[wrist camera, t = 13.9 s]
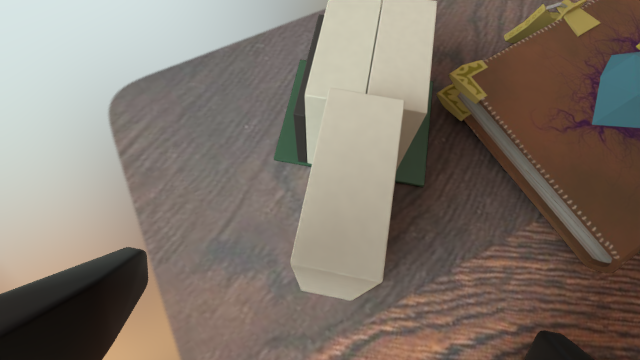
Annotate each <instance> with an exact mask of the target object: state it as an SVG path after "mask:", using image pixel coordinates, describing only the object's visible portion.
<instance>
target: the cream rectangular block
mask: <svg viewBox="0 0 640 360" xmlns="http://www.w3.org/2000/svg"><path fill="white" fill-rule="evenodd" d="M404 103H405V101H404V100H401V99H395V98H389V97H383V96H377V95H372V94H366V93H360V92H354V91H348V90H342V89H336V88H329V91H328V96H327V100H326V105H325V109H324V113H323V118H322V122H321V127H320V131H319V136H318V140H317V145H316V149H315V154H314V158H313V163H312V167H311V172H310V176H309V180H308V185H307V189H306V194H305V198H304V203H303V207H302V212H301V216H300V221H299V225H298V230H297V234H296V239H295V243H294V248H293V252H292V256H291V261H290V264H291V266H292V269H293V271H294V274H295V276H296V278H297V281H298V283H299V286H300V288H301V290H302V291H306V292H311V293H316V294H321V295H325V296H330V297H335V298H340V299H345V300H350V301H352V300H353V299H355V298H357V297H358V296H360V295H362V294H363V293H365V292H367V291H368V290H370V289H371V288H373V287H375V286H376V285H378V284H380V283H381V282H382V281H383V274H384V266H385V257H386V249H387V241H388V233H389V225H390V217H391V209H392V201H393V193H394V185H395V176H396V168H397V160H398V152H399V144H400V136H401V128H402V120H403V112H404Z"/></svg>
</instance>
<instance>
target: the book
mask: <svg viewBox="0 0 640 360" xmlns="http://www.w3.org/2000/svg"><path fill="white" fill-rule="evenodd" d="M586 1H587V0H580V1H579V2H577V3H575V4H574V3H572V2H571V1H569V0H564V1H562V2H559V3H556V4H553V5H550V6H547V7H545V5H544V4H542V5H541V6H540V7H539V8H538V9H537V10H536V11H535V12H534V13H533V14H532V15H531V16H530V17H529V18H528V19H526V20H525V21H524V22H523V23H521V24H520V25H518V26H517V27H515V28H514V29H513V30H511V31H510V32H508V33H507V34H505V35H504V38H505V41H507V42H510V43H514V44H513V45H512V46H510V47H508V48H506V49H504V50H503V51H501V52H499V53H497V54H495V55H494V56H492V57H490V58H488V59H486V60H485V61H482V60H479V61H475V62H472V63H468V64H465V65H462V66H460V67H459V68H457V69H456V70H454V71H453V72H451V73H450V74H449V77H450V79H451V81H452V82H453V84H451V85H448V86H447V87H445V88H444V89H442V90H441V91H439V92H438V93H437V94H436V95H437V97H438V98H439V100H440V102H441V104H442V105H443V107H445V108H446V109H447V110H448V111H449V112H451V113H452V114H453V115H454V116H455V117H457V118H458V119H459V120H460V121H462V120H464V121H465V122H466V123H467V124H468V126H469V127H470V128H471V129H472V130H473V132H474V133H475V134H476V135H477V136H478V138H479V139H480V140H481V141H482V142H483V144H484V145H485V146H486V147H487V148H488V150H489V151H490V152H491V153H492V154H493V156H494V157H495V158H496V159H497V160H498V162H499V163H500V164H501V165H502V167H503V168H504V169H505V170H506V171H507V173H508V174H509V175H510V176H511V177H512V179H513V180H514V181H515V182H516V183H517V185H518V186H519V187H520V188H521V189H522V191H523V192H524V193H525V194H526V195H527V197H528V198H529V199H530V200H531V201H532V203H533V204H534V205H535V206H536V207H537V209H538V210H539V211H540V212H541V213H542V215H543V216H544V217H545V218H546V219H547V221H548V222H549V223H550V224H551V225H552V227H553V228H554V229H555V230H556V231H557V233H558V234H559V235H560V236H561V237H562V239H563V240H564V241H565V242H566V243H567V245H568V246H569V247H570V248H571V249H572V251H573V252H574V253H575V254H576V255H577V257H578V258H579V259H580V260H581V261H582V263H583V264H584V265H585V266H587V267H590V268H592V269H594V270H597V271H601V272H605V273H612V272H615V271H616V270H617V269H618V268H620V267H621V266H622V265H623V264H625V263H626V262H627V261H628V260H630V259H631V258H632V257H633V256H635V255H636V254H637V253H638V252H639V253H640V0H593V1H591V2H589V3H588V4H586V5H584V6H582V5H583V4H584V3H585V2H586ZM581 6H582V7H581ZM555 7H556V8H557V10H558V11H559V12H549V11H548V10H549V9H552V8H555Z"/></svg>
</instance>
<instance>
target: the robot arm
mask: <svg viewBox="0 0 640 360" xmlns="http://www.w3.org/2000/svg"><path fill="white" fill-rule="evenodd" d="M147 283H148V268H147V255H146V252H145V251H144V250H141V249H136V248H131V247H126V248H123V249H120V250H118V251H115V252H112V253H110V254H107V255H105V256H102V257H99V258H96V259H93V260H91V261H88V262H85V263H83V264H80V265H78V266H75V267H72V268H69V269H67V270H64V271H61V272H58V273H56V274H53V275H51V276H48V277H45V278H43V279H40V280H37V281H34V282H32V283H29V284H26V285H23V286H21V287H18V288H15V289H13V290H10V291H8V292H5V293H2V294H0V360H102V359H103V357H104V356H105V354H106V353H107V352H108V350H109V349H110V347H111V346H112V344H113V342H114V341H115V339H116V338H117V336H118V334H119V333H120V331H121V329H122V327H123V326H124V324H125V322H126V321H127V319H128V317H129V316H130V314H131V312H132V311H133V309H134V307H135V305H136V304H137V302H138V300H139V299H140V297H141V295H142V294H143V292H144V290H145V288H146V286H147ZM525 360H594V359H593V358H592V357H591V356H589V355H588V354H587V353H585V352H584V351H583V350H582V349H580V348H579V347H578V346H577V345H575V344H574V343H573V342H572V341H570V340H569V339H568V338H567V337H565V336H564V335H562V334H560V333H555V332H550V331H545V330H544V331H540V332H539V333H538V334H537V335H536V337H535V339H534V341H533V343H532V345H531V347H530V349H529V351H528V353H527V354H526V357H525Z"/></svg>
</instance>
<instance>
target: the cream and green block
mask: <svg viewBox="0 0 640 360" xmlns="http://www.w3.org/2000/svg"><path fill="white" fill-rule="evenodd" d="M381 3H382V7H381ZM380 9H381V11H380ZM436 9H437V1H431V0H383V2H382V0H328V3H327V7H326V11H325V15H319V16H318V20H317V23H316V27H315V31H314V35H313V39H312V43H311V47H310V50H309V54H308V58H307V61H306V60H300V63H299V67H298V70H297V74H296V78H295V82H294V85H293V89H292V93H291V96H290V100H289V104H288V108H287V111H286V115H285V119H284V123H283V126H282V130H281V134H280V137H279V141H278V145H277V149H276V152H275V156H274V160H277V161H282V162H288V163H293V164H299V165H304V166H310V167H312V163H313V158H314V154H315V149H316V145H317V140H318V136H319V131H320V127H321V122H322V118H323V113H324V109H325V105H326V100H327V96H328V91H329V88H336V89H342V90H348V91H354V92H360V93H366V94H372V95H377V96H383V97H389V98H395V99H401V100H404V101H405V103H404V112H403V120H402V128H401V136H400V144H399V152H398V160H397V168H396V176H395V182H397V183H403V184H408V185H414V186H419V187H423V186H424V182H425V170H426V159H427V147H428V135H429V124H430V112H431V101H432V89H433V81H430V75H431V64H432V53H433V42H434V31H435V20H436ZM379 15H380V16H379ZM378 20H379V21H378Z"/></svg>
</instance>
